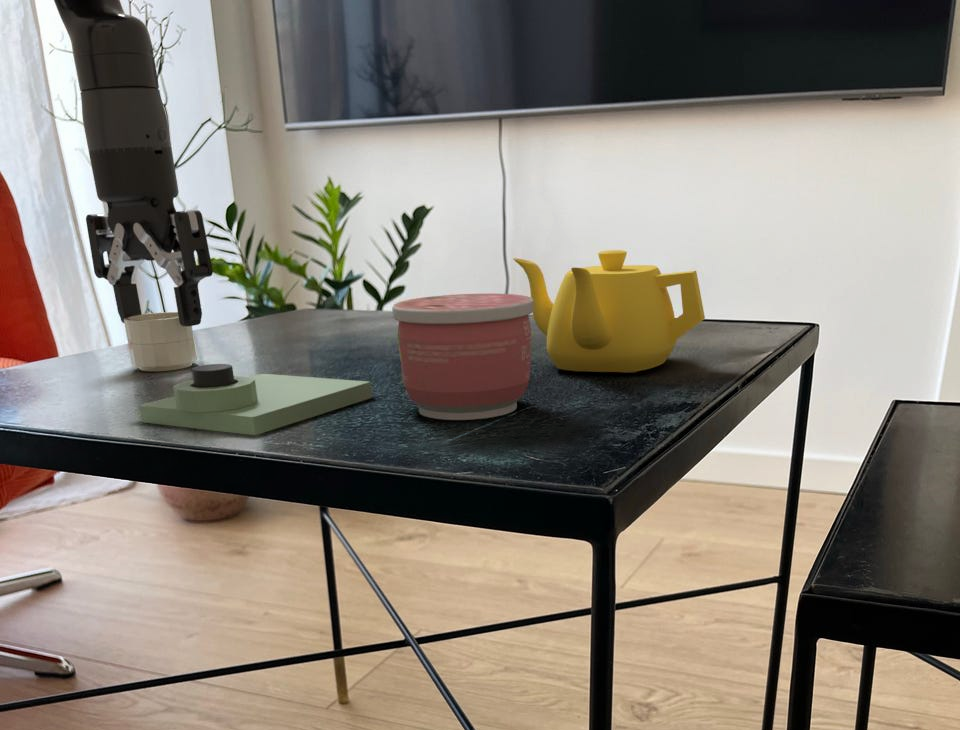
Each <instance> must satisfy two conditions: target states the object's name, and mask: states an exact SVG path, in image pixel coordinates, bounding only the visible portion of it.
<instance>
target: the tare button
mask: <svg viewBox="0 0 960 730" xmlns="http://www.w3.org/2000/svg"><path fill="white" fill-rule="evenodd" d="M191 374H192V380H193V381H194V387H196V388H211V387H221V386H228V385H232V384H235V382H234V376H235V375H234V368H233V365H232V364H229V363H210V364H203V365H198V366H194V367H192V368H191Z"/></svg>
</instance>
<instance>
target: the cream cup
mask: <svg viewBox="0 0 960 730" xmlns="http://www.w3.org/2000/svg"><path fill="white" fill-rule="evenodd" d="M123 324H124V327H125V333H126V338H127V339H126V340H127V343H128V350H129V356H130V361H131V365H132V366H133V367H136V368H138V369H139V371H142V372H150V373H151V372H152V373H155V372H167V371H169V372H170V371H176V370H182V369H187V368H190V367H192V366H193V362H196V361H197V360H198V353H197V347H196V341H195V334H194V328H193V326H189V327H188V326H182V325H181V324H180V322H179V316H178V311H165V312H164V311H163V312H151V313H142V314H141V315H135V316H130V317H126V318H125V319H124V323H123Z"/></svg>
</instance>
